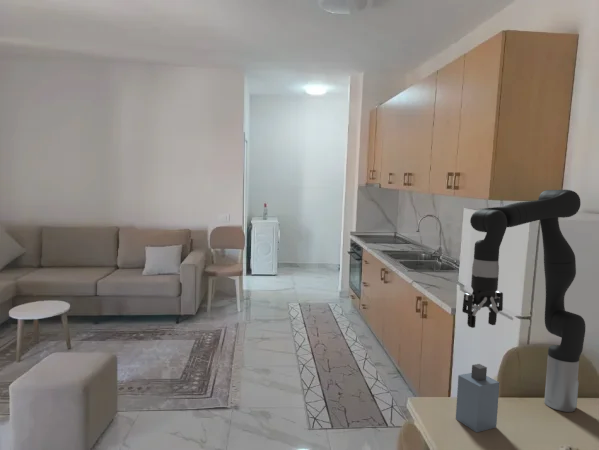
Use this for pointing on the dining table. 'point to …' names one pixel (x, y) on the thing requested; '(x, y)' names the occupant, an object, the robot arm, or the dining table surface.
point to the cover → (477, 399)
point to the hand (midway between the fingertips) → (481, 325)
